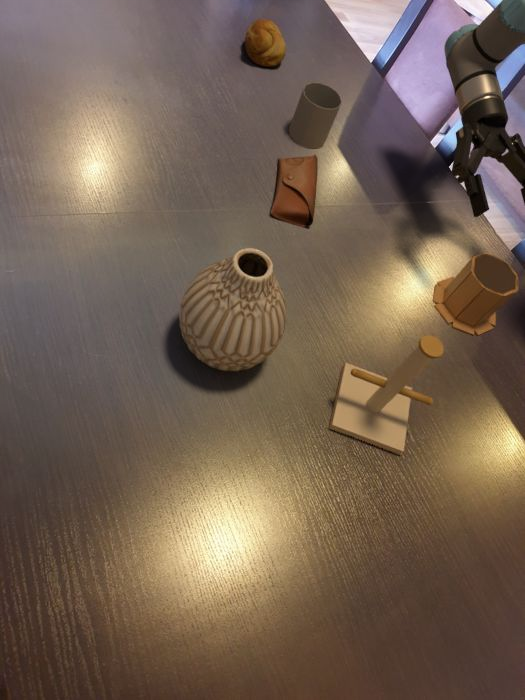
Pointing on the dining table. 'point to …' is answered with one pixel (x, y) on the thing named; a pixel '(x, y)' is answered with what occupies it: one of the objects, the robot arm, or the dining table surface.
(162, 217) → the dining table surface
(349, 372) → the stand
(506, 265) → the hat
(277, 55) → the bread roll
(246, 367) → the vase
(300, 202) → the sunglasses case
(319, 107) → the cup
